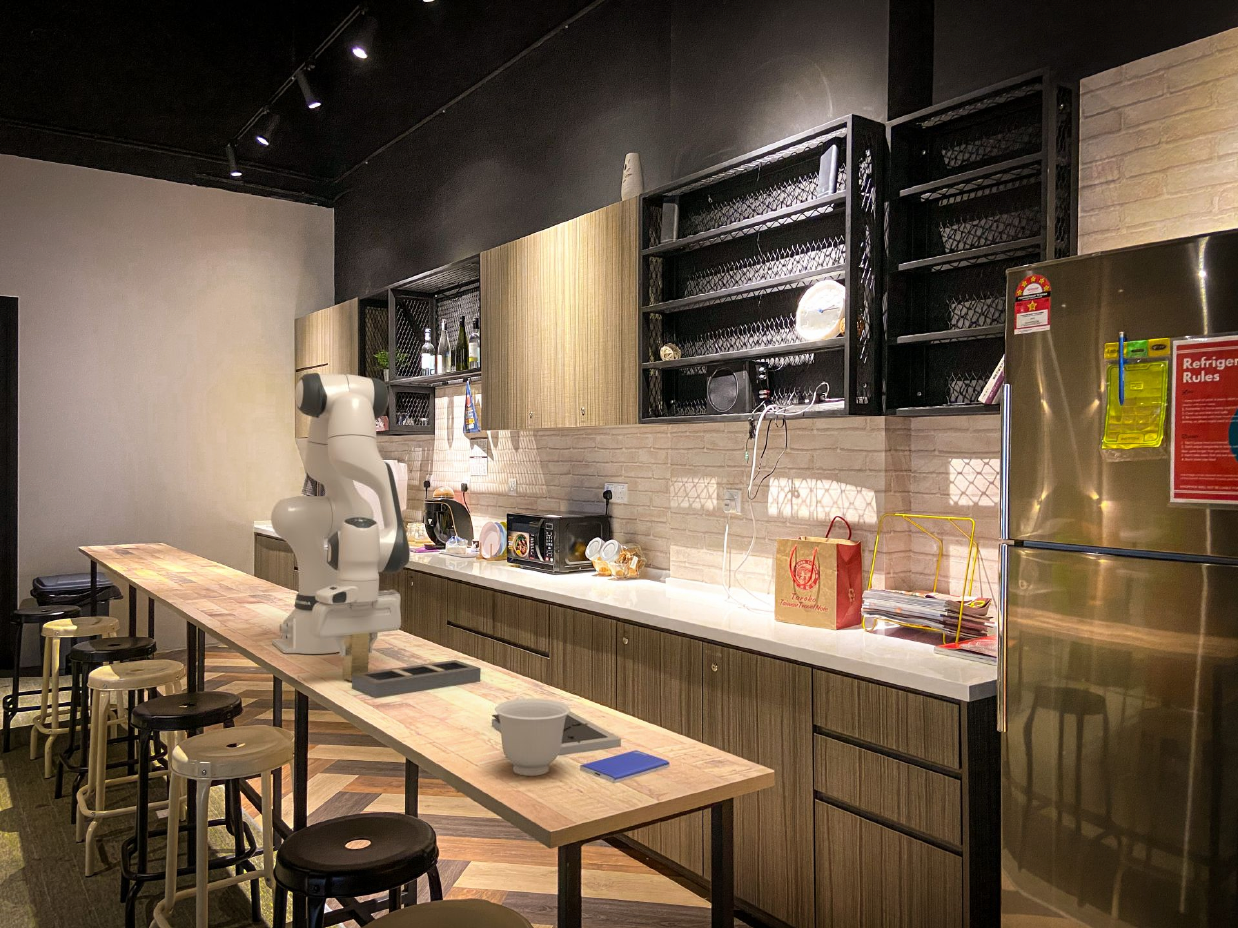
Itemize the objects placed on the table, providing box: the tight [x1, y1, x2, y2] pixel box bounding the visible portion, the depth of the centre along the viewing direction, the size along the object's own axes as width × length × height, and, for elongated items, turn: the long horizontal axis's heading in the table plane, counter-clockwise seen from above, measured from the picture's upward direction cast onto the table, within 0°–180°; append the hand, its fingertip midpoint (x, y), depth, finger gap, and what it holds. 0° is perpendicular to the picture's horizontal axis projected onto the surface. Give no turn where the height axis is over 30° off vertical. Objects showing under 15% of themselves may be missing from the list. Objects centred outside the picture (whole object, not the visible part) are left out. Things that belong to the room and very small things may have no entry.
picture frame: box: [491, 710, 622, 757], centre depth 168 cm, size 16×3×21 cm
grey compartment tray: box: [351, 659, 482, 699], centre depth 204 cm, size 10×26×3 cm, turn 132°
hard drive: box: [579, 749, 670, 784], centre depth 152 cm, size 2×8×12 cm
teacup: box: [494, 696, 571, 777], centre depth 150 cm, size 12×15×10 cm
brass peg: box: [342, 633, 370, 682], centre depth 206 cm, size 4×4×10 cm
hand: (355, 654), depth 206 cm, fingers closed on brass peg, 4 cm apart
